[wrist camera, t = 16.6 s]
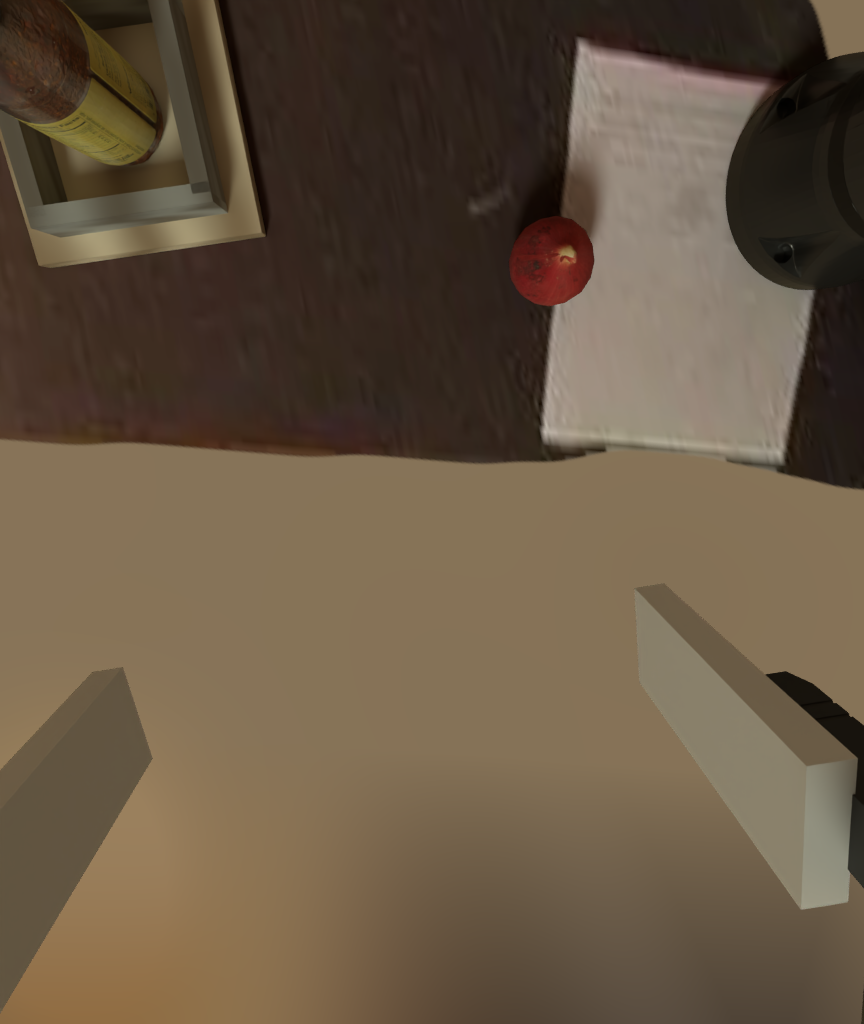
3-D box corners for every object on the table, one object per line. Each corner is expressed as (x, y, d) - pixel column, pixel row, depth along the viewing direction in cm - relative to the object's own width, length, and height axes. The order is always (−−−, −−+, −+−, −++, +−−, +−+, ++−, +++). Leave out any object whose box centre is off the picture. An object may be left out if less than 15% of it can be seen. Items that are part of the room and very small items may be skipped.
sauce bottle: (81, 52, 39) (-228, -232, 20) (177, 88, 40) (-30, -151, 21) (65, 158, 40) (-235, -9, 21) (157, 191, 41) (-52, 58, 22)
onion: (507, 314, 46) (529, 308, 38) (496, 235, 45) (516, 213, 37) (580, 300, 46) (617, 291, 38) (571, 220, 44) (607, 194, 37)
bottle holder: (213, -24, 39) (187, -76, 34) (266, 236, 44) (249, 222, 39) (-27, 10, 39) (-87, -37, 34) (50, 267, 44) (7, 258, 39)
